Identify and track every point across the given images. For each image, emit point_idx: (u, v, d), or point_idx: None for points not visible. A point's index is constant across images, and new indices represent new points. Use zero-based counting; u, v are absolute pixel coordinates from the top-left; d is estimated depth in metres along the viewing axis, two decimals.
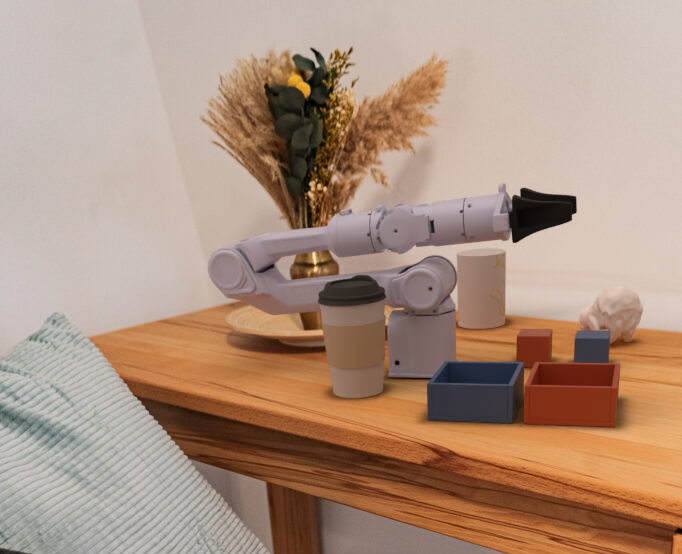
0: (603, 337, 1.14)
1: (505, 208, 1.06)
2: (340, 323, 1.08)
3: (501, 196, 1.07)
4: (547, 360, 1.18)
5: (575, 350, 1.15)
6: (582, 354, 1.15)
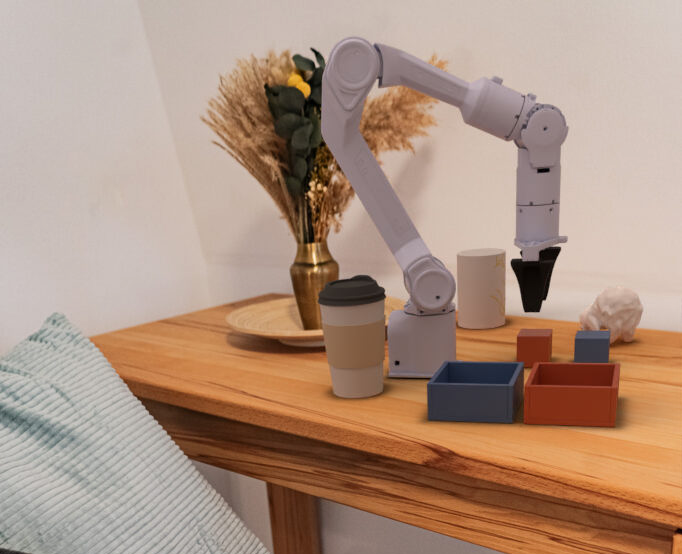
0: (603, 337, 1.14)
1: (543, 248, 1.12)
2: (340, 323, 1.08)
3: (555, 242, 1.12)
4: (547, 360, 1.18)
5: (575, 350, 1.15)
6: (582, 354, 1.15)
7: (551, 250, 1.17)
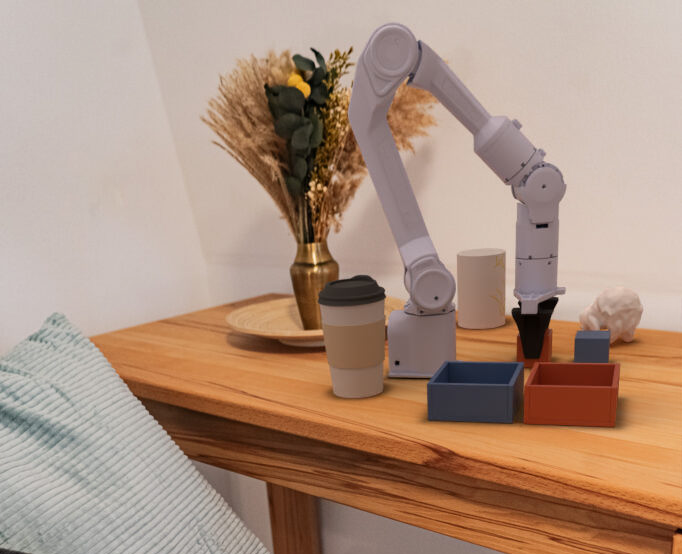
0: (603, 337, 1.14)
1: None
2: (340, 323, 1.08)
3: (553, 294, 1.15)
4: (547, 360, 1.18)
5: (575, 350, 1.15)
6: (582, 354, 1.15)
7: (549, 301, 1.19)
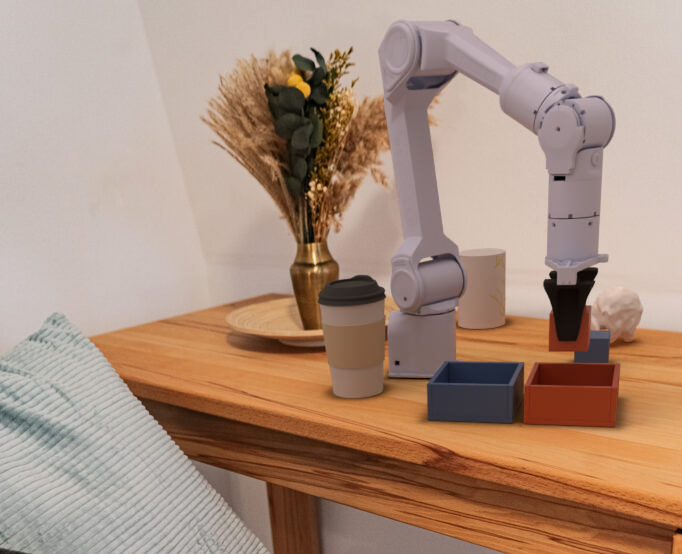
0: (603, 337, 1.14)
1: None
2: (340, 323, 1.08)
3: (594, 262, 0.94)
4: (586, 342, 0.98)
5: None
6: (582, 354, 1.15)
7: (587, 272, 0.99)
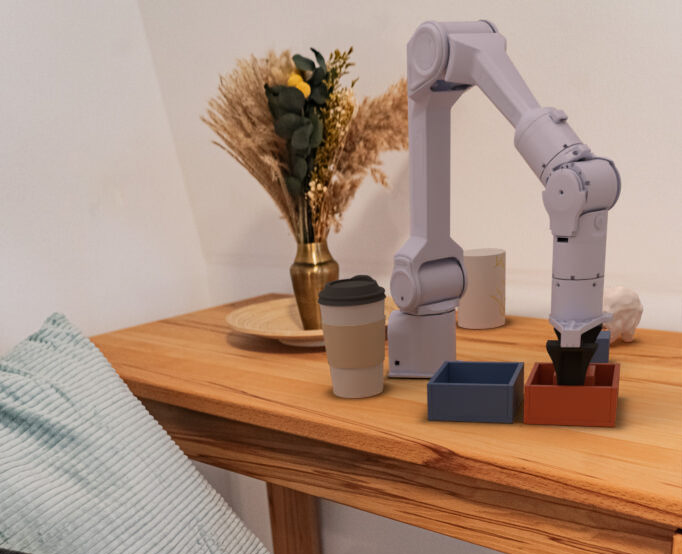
0: (603, 337, 1.14)
1: None
2: (340, 323, 1.08)
3: (598, 322, 0.94)
4: None
5: None
6: None
7: (591, 327, 1.00)
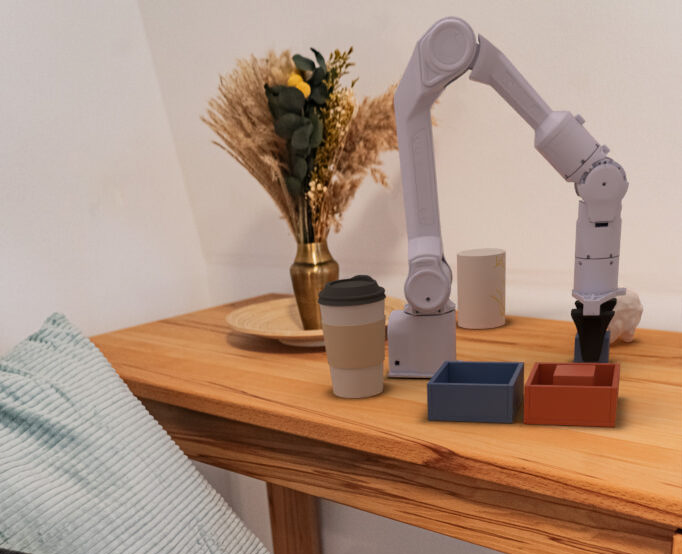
0: None
1: None
2: (340, 323, 1.08)
3: (614, 295, 1.11)
4: None
5: (575, 350, 1.15)
6: None
7: (607, 302, 1.16)
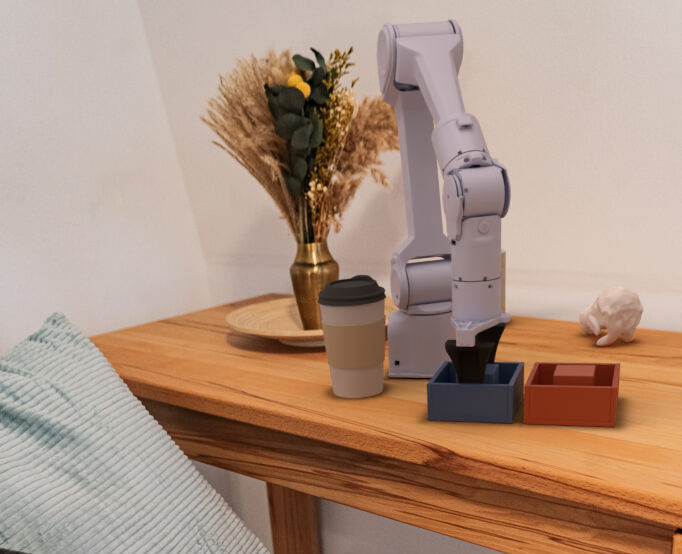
0: (487, 372, 1.01)
1: None
2: (340, 323, 1.08)
3: (496, 322, 0.98)
4: None
5: None
6: None
7: (494, 327, 1.03)
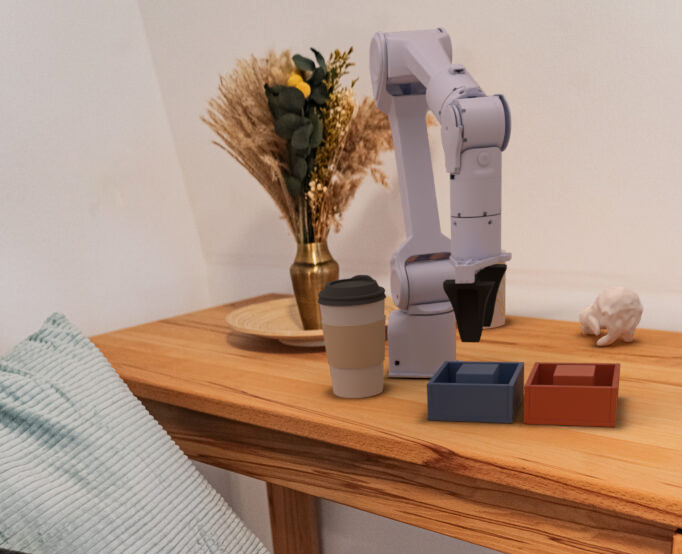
0: (487, 372, 1.01)
1: (482, 267, 0.95)
2: (340, 323, 1.08)
3: (496, 260, 0.95)
4: None
5: None
6: None
7: (495, 269, 1.01)
